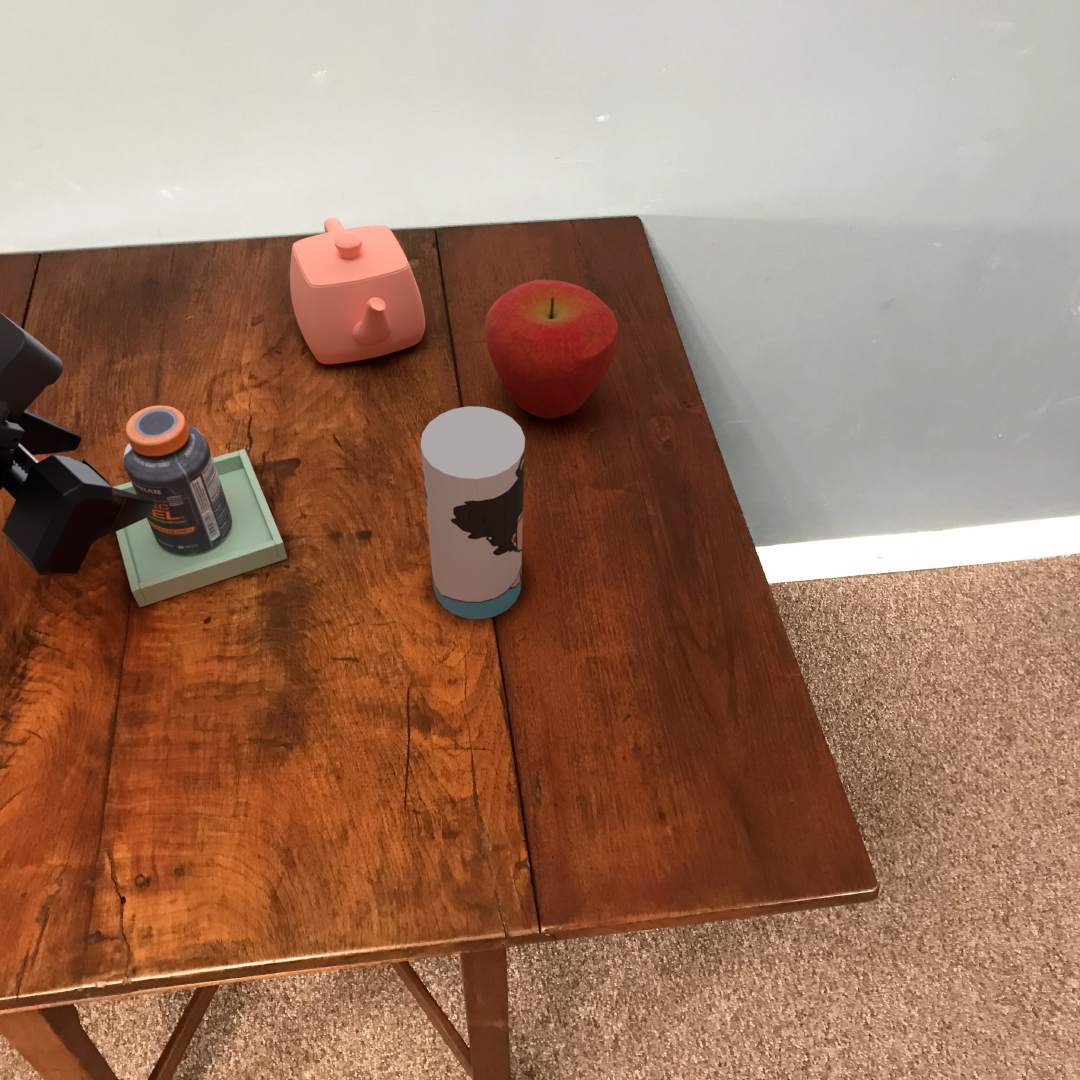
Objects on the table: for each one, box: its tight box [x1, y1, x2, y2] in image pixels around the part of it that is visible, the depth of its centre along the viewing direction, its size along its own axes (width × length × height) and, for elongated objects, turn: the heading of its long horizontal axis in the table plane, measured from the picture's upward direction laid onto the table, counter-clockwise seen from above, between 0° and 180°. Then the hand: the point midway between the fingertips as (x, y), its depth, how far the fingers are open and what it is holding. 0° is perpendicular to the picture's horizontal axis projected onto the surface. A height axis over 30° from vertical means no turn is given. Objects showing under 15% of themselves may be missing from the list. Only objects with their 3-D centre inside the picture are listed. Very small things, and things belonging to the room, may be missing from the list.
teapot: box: [289, 216, 426, 365], centre depth 87 cm, size 12×18×10 cm, turn 23°
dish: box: [112, 448, 288, 608], centre depth 74 cm, size 11×11×2 cm
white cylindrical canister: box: [420, 405, 526, 620], centre depth 66 cm, size 7×7×15 cm
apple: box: [484, 279, 620, 420], centre depth 81 cm, size 11×11×12 cm
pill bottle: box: [123, 405, 232, 555], centre depth 70 cm, size 6×6×11 cm
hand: (114, 474), depth 65 cm, fingers open, 9 cm apart
